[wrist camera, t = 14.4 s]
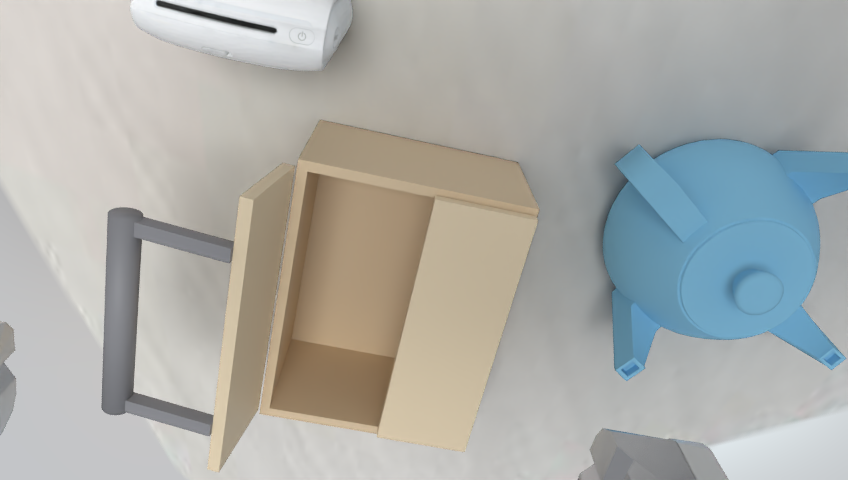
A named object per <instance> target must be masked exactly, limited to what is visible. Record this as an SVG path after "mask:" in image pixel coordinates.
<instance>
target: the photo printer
mask: <svg viewBox="0 0 848 480" xmlns="http://www.w3.org/2000/svg"><path fill="white" fill-rule="evenodd" d="M130 10H131V15H132V18H133V21H134V23H135V24H136V26H137V27H138V28H139V29H141V30H143V31H145V32H146V33H148V34H150V35H152V36H154V37H156V38H157V39H160V40H162V41H165V42H168V43H171V44H174V45H177V46H181V47H184V48H188V49H191V50H195V51H199V52H202V53H206V54H210V55H214V56H218V57H222V58H226V59H231V60H235V61H240V62H245V63H249V64H254V65H259V66H265V67H270V68H277V69H283V70H296V71H320V70H323V69H324V67H325V66H326V65H327V63H328V61H329V60H330V58H331V57H332V55H333V54H334V52H335V51H336V50H337V48H338V46H339V43H340V42H341V40H342V38H343V37H344V36H345V34H346V33H347V31H348V29H349V28H350V25H351V22H352V18H353V8H352V4H351V1H350V0H132V1H131V6H130Z"/></svg>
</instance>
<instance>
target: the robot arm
mask: <svg viewBox="0 0 848 480" xmlns="http://www.w3.org/2000/svg"><path fill="white" fill-rule="evenodd" d="M14 351H15V344H14V331H13V328H12V327H10V326H9V325H8V324H7V323H6V322H2V321H0V435H1V434H2V432H3V430H4V428H5V426H6V424H7V422H8V420H9V418H10V416H11V413H12V411H13V407H14V402H15V396H16V378H15V376H14V375H13V374H12V373H11V371H10V370H9V369H8V367H7V366H6V365H5V363H4V361H5V360H6V359H7V358H8V357H9V356H10V355H11V354H12V353H13V352H14ZM590 452H591V455H592V458H593V461H594V464H593V465H592V466H590V467H589V468H587V469H586V470H584V471H583V472H581V473H580V475H579V478H578V480H728V478H727V476H726V475H725V473H724V471H723V469H722V468H721V466H720V464H719V463H718V461H717V459H716V458H715V456H714V454H713V452H712V451H711V450H710V449H709V448H708V447H707V446H705V445H704V444H703V443H696V442H689V441H683V440H676V439H662V438H656V437H650V436H644V435H638V434H633V433H627V432H621V431H615V430H609V429H602V430H601V431H600V432H599V433H598V434H597V435H596V437H595V439H594V442H593V444H592V446H591V448H590Z"/></svg>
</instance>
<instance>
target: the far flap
mask: <svg viewBox="0 0 848 480" xmlns="http://www.w3.org/2000/svg"><path fill="white" fill-rule="evenodd" d="M294 169H295V166H293V165H290V164H286V163H282V164H281V165H279V166H278V167H277V168H276V169H274V170H273V171H272V172H270V173H269V174H268V175H266V176H265V177H264V178H263V179H261V180H260V181H259V182H257V183H256V184H255V185H253V186H252V187H251V188H250V189H248V190H247V191H246V192H244V193H243V194H242V195H240V196H239V205H238V213H237V222H236V230H235V239H234V242H233V241H229V240H226V239H222V238H218V237H215V236H211V235H207V234H204V233H200V232H196V231H193V230H189V229H185V228H182V227H178V226H174V225H171V224H167V223H164V222H160V221H156V220H153V219H149V218H145V217H143V213H142V212H141V211H139V210H136V209H133V208H115V209H112V210H110V211H109V212H108V224H107V255H106V285H105V316H104V347H103V378H102V410H103V411H104V412H105V413H107V414H110V415H120V414H124V413H126V412H127V413H131V414H134V415H137V416H141V417H144V418H148V419H151V420H155V421H158V422H161V423H165V424H168V425H172V426H175V427H179V428H182V429H186V430H189V431H192V432H196V433H199V434H203V435H206V436H210V435H211V442H210V451H209V459H208V468H207V469H208V470H212V471H215V472H219V471H220V470H221V468H222V467H223V465H224V463H225V462H226V460H227V459H228V457H229V455H230V454H231V452H232V451H233V449H234V447H235V446H236V444H237V443H238V441H239V439H240V438H241V436H242V435H243V433H244V431H245V430H246V428H247V427H248V425H249V423H250V422H251V420H252V419H253V417H254V415H255V414H256V412H257V411H258V407H259V401H260V394H261V387H262V381H263V374H264V368H265V361H266V354H267V348H268V341H269V334H270V328H271V321H272V315H273V308H274V301H275V295H276V288H277V281H278V275H279V268H280V262H281V255H282V248H283V242H284V235H285V229H286V222H287V215H288V209H289V202H290V195H291V189H292V182H293V176H294ZM142 239H143V240H146V241H150V242H154V243H157V244H161V245H164V246H168V247H172V248H175V249H179V250H183V251H186V252H190V253H193V254H197V255H201V256H204V257H208V258H212V259H215V260H219V261H223V262H226V263H230V262H231V261H232V264H231V273H230V281H229V290H228V298H227V307H226V315H225V324H224V332H223V341H222V349H221V358H220V366H219V375H218V383H217V391H216V400H215V408H214V415H211V414H207V413H204V412H200V411H197V410H193V409H190V408H186V407H183V406H179V405H176V404H173V403H169V402H166V401H162V400H159V399H155V398H152V397H148V396H145V395H141V394H138V393H134V392H133V388H134V370H135V352H136V334H137V316H138V298H139V280H140V262H141V244H142ZM211 433H212V434H211Z"/></svg>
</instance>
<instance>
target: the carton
mask: <svg viewBox="0 0 848 480" xmlns="http://www.w3.org/2000/svg"><path fill="white" fill-rule="evenodd" d="M538 213H539V207H538V205H537V203H536V201H535V199H534V196H533V194H532V192H531V190H530V188H529V185H528V183H527V181H526V179H525V177H524V175H523V172H522V170H521V168H520V166H519V164H518V162H514V161H509V160H504V159H500V158H495V157H491V156H486V155H481V154H477V153H472V152H467V151H463V150H458V149H453V148H449V147H444V146H439V145H435V144H430V143H426V142H421V141H416V140H412V139H407V138H402V137H398V136H393V135H388V134H384V133H379V132H374V131H370V130H365V129H361V128H356V127H351V126H347V125H342V124H337V123H333V122H328V121H323V120H320V121H319V122H318V124H317V126H316V128H315V130H314V131H313V133H312V135H311V137H310V139H309V141H308V142H307V144H306V146H305V148H304V150H303V151H302V153H301V155H300V157H299V159H298V164H297V171H296V177H295V184H294V191H293V197H292V204H291V210H290V217H289V223H288V230H287V236H286V243H285V250H284V256H283V263H282V269H281V276H280V282H279V289H278V295H277V302H276V308H275V315H274V322H273V328H272V335H271V341H270V348H269V354H268V361H267V367H266V374H265V381H264V387H263V394H262V400H261V407H260V413H259V414H263V415H269V416H275V417H281V418H287V419H293V420H298V421H304V422H310V423H316V424H322V425H328V426H334V427H340V428H345V429H351V430H357V431H363V432H369V433H375V434H377V437H378V438H384V439H390V440H396V441H402V442H408V443H414V444H420V445H426V446H431V447H437V448H443V449H449V450H455V451H461V452H465V449H466V446H467V443H468V440H469V437H470V434H471V431H472V427H473V424H474V421H475V418H476V415H477V412H478V409H479V405H480V402H481V399H482V396H483V393H484V390H485V387H486V383H487V380H488V377H489V374H490V371H491V368H492V365H493V361H494V358H495V355H496V352H497V349H498V346H499V342H500V339H501V336H502V333H503V330H504V327H505V324H506V320H507V317H508V314H509V311H510V308H511V305H512V302H513V298H514V295H515V292H516V289H517V286H518V283H519V280H520V276H521V273H522V270H523V267H524V264H525V261H526V258H527V254H528V251H529V248H530V245H531V242H532V239H533V236H534V232H535V229H536V226H537V223H538V219H537V216H538Z"/></svg>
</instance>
